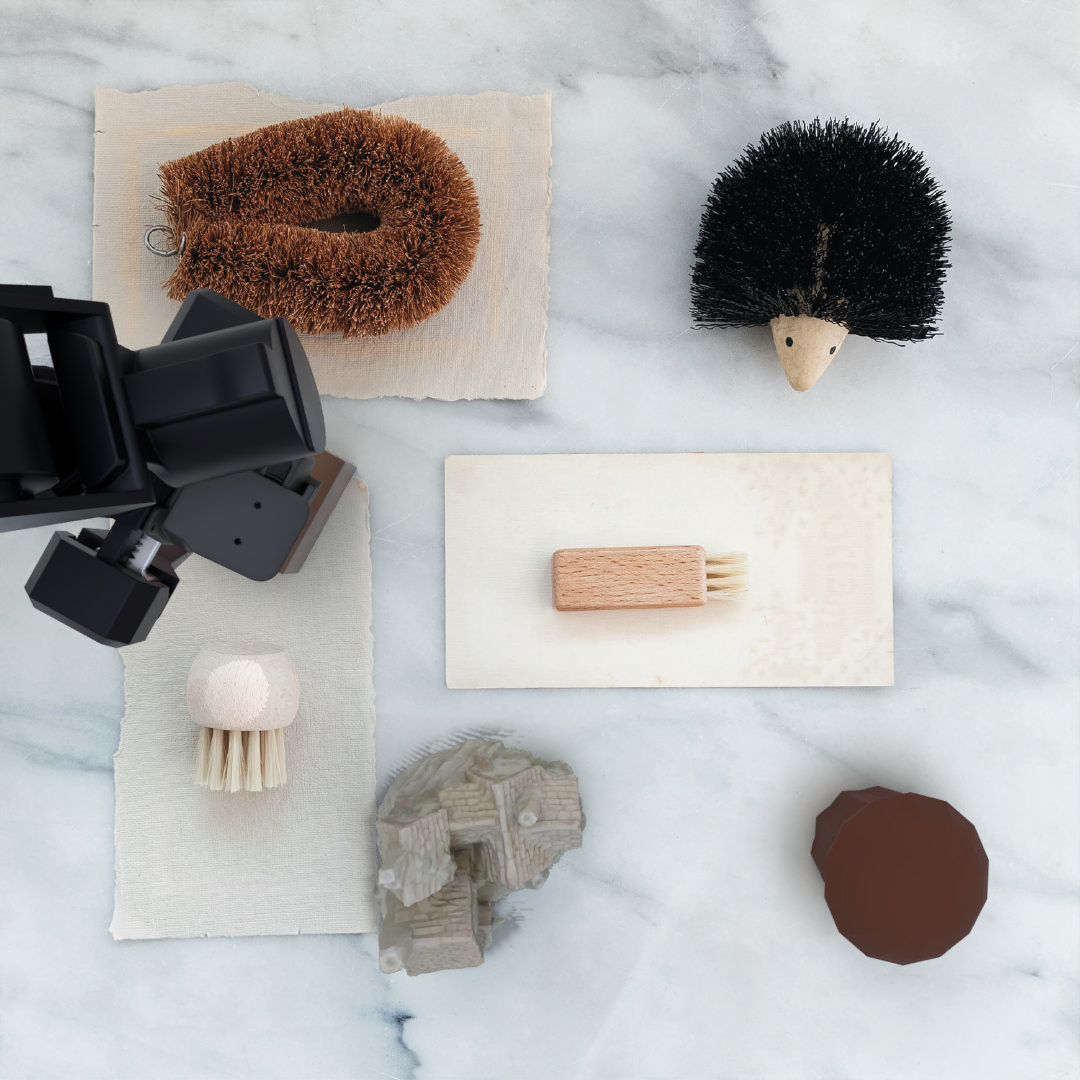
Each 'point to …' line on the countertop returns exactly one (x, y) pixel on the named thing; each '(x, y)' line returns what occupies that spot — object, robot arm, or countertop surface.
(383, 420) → the countertop surface
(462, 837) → the ceramic cottage
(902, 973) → the countertop surface
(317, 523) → the block
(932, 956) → the brown faceted knob
